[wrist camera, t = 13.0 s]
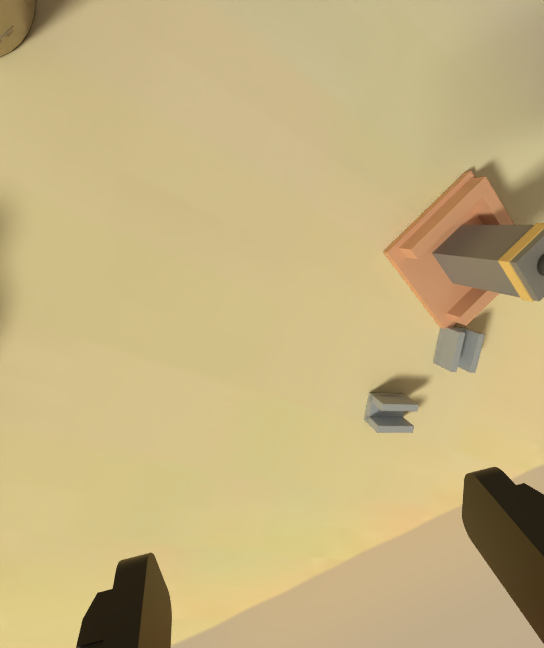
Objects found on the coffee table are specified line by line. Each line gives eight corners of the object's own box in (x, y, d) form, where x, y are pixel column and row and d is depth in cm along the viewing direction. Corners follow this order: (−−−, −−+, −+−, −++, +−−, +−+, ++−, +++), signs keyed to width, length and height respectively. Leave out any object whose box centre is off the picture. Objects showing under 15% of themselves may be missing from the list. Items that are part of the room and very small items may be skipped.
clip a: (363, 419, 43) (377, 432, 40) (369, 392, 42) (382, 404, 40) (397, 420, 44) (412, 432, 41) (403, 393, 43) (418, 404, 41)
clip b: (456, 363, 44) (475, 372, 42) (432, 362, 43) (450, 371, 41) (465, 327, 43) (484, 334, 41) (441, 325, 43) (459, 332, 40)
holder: (442, 330, 43) (460, 337, 40) (383, 251, 39) (398, 253, 36) (517, 256, 43) (540, 258, 40) (465, 171, 39) (487, 168, 37)
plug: (430, 253, 39) (533, 264, 29) (461, 223, 40) (575, 223, 29) (452, 284, 41) (557, 307, 30) (482, 255, 41) (598, 267, 30)
